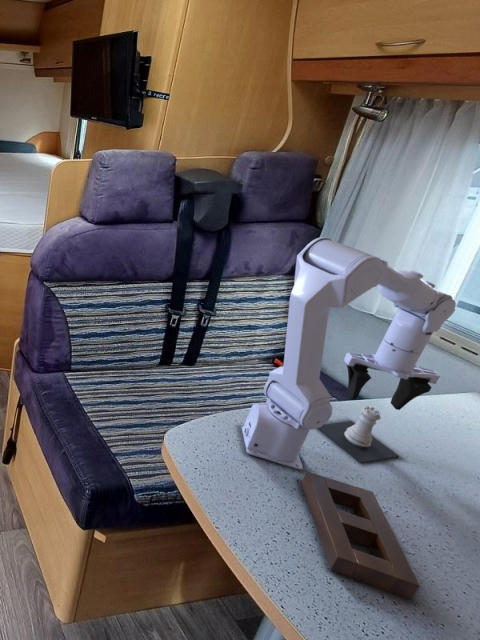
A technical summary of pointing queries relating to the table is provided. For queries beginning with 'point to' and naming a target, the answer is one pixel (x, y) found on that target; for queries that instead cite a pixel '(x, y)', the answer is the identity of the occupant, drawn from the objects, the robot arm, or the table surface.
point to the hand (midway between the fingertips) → (372, 401)
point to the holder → (357, 535)
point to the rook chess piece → (363, 427)
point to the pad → (359, 453)
